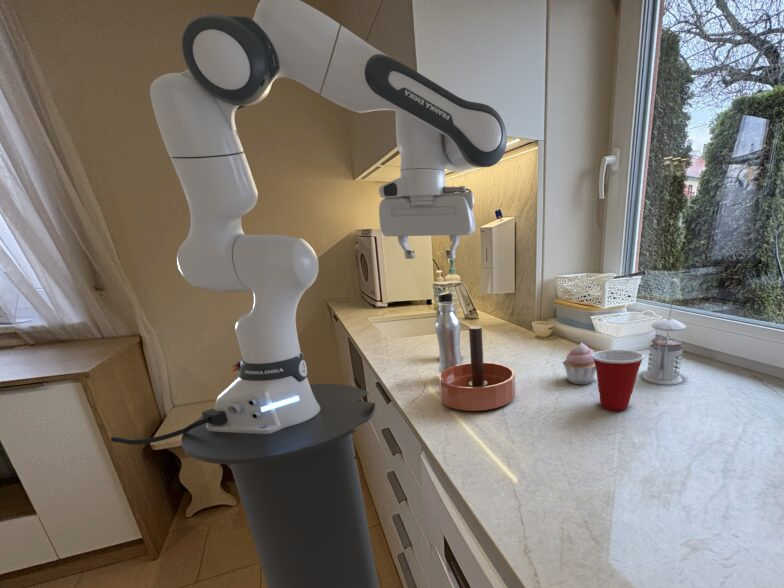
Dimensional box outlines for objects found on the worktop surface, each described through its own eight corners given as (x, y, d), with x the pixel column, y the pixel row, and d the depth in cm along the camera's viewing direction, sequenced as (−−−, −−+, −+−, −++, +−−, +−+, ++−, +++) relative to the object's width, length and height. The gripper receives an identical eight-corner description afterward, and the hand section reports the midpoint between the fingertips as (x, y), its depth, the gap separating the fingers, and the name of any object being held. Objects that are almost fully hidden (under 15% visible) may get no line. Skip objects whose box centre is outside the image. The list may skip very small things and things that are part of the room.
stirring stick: (468, 399, 93) (464, 330, 87) (469, 391, 97) (465, 325, 91) (488, 398, 93) (485, 329, 88) (488, 391, 97) (485, 324, 92)
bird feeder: (684, 374, 108) (698, 277, 99) (679, 389, 98) (693, 283, 89) (646, 369, 112) (656, 275, 103) (637, 383, 103) (647, 281, 94)
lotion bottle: (460, 361, 122) (456, 293, 115) (441, 362, 121) (435, 294, 113) (457, 355, 127) (453, 290, 120) (439, 357, 126) (434, 291, 119)
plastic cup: (621, 393, 97) (625, 344, 93) (649, 411, 87) (655, 357, 83) (580, 399, 94) (582, 349, 89) (604, 419, 84) (608, 363, 80)
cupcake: (586, 372, 111) (588, 336, 107) (605, 383, 103) (608, 345, 99) (555, 377, 108) (556, 340, 104) (573, 389, 100) (574, 349, 96)
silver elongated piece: (468, 376, 109) (464, 301, 102) (457, 385, 103) (452, 306, 96) (446, 374, 111) (440, 300, 104) (435, 383, 105) (427, 305, 98)
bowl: (437, 415, 87) (434, 389, 85) (444, 386, 103) (442, 363, 101) (517, 412, 88) (517, 386, 86) (512, 383, 104) (512, 361, 102)
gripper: (477, 186, 84) (480, 257, 89) (386, 190, 88) (394, 257, 93) (467, 184, 78) (471, 259, 83) (371, 188, 83) (380, 259, 88)
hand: (430, 258), depth 88 cm, fingers open, 8 cm apart
